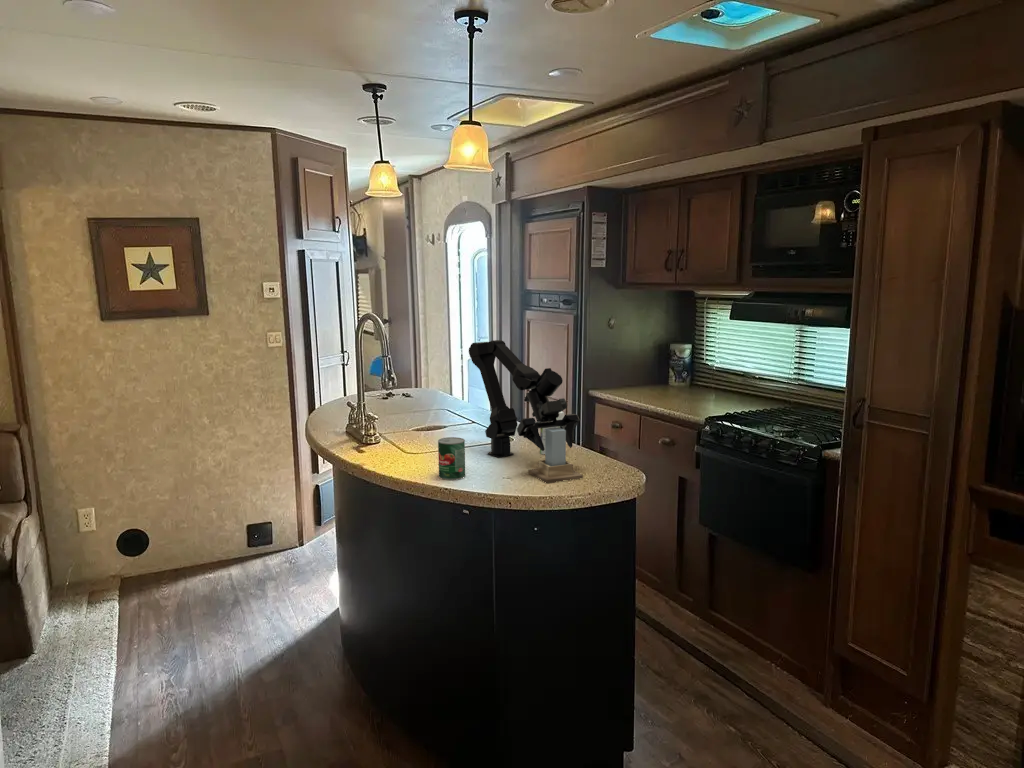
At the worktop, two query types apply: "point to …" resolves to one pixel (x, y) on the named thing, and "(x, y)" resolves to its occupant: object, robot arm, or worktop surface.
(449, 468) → the canned tomato
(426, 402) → the worktop surface
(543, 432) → the syrup box
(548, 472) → the pocket board
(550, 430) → the slate peg
